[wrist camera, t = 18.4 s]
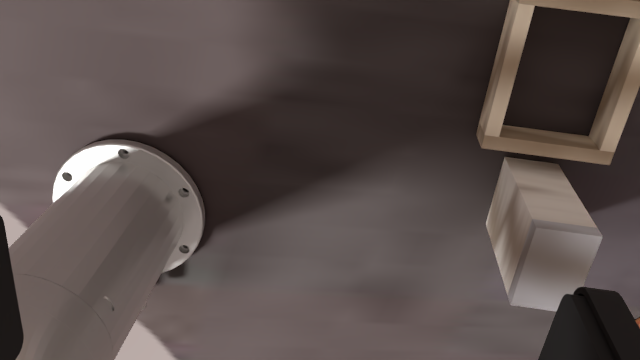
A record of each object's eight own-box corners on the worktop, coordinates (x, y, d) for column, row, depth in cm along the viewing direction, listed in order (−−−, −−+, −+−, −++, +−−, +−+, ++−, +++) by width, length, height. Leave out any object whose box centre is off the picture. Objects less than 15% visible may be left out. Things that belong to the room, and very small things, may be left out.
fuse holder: (567, 234, 47) (610, 319, 38) (454, 219, 47) (472, 299, 38) (700, -133, 34) (811, -135, 26) (547, -151, 35) (605, -159, 26)
